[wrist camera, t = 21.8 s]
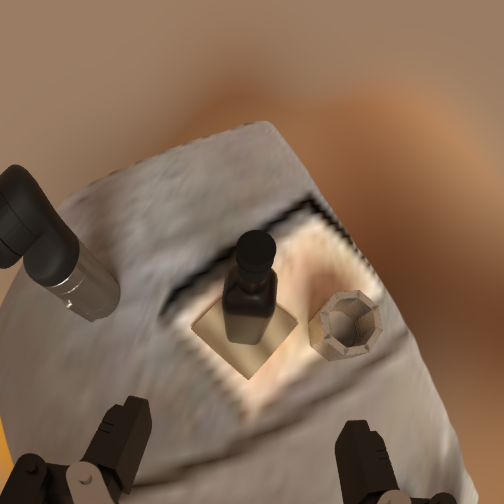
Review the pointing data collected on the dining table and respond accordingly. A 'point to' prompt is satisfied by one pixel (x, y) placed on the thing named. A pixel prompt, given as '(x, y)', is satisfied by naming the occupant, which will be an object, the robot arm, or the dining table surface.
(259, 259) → the wine bottle
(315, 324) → the wooden sleeve
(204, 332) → the oak board
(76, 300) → the robot arm
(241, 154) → the dining table surface
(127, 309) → the dining table surface
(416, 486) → the dining table surface
